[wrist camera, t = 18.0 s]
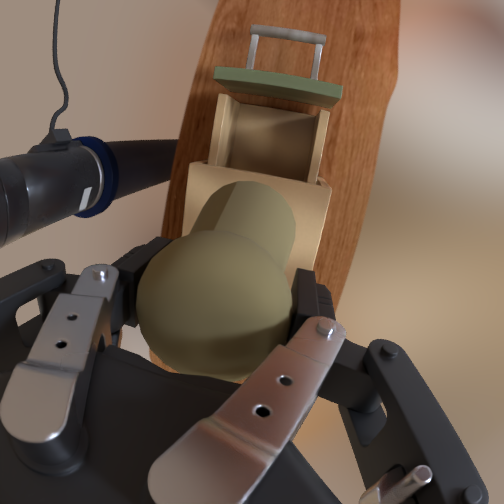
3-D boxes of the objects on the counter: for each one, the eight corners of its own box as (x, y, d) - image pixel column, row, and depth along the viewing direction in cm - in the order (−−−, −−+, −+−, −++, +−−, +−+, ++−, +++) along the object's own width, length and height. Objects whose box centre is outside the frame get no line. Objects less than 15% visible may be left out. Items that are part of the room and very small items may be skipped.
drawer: (241, 37, 26) (226, 13, 20) (339, 53, 26) (351, 30, 19) (213, 198, 33) (192, 213, 27) (309, 217, 33) (312, 237, 26)
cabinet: (216, 157, 33) (189, 162, 24) (322, 177, 32) (332, 189, 23) (201, 272, 38) (176, 309, 30) (295, 292, 37) (293, 335, 29)
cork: (285, 281, 19) (283, 420, 9) (194, 265, 20) (118, 382, 9) (304, 189, 17) (336, 262, 7) (203, 173, 17) (100, 221, 7)
